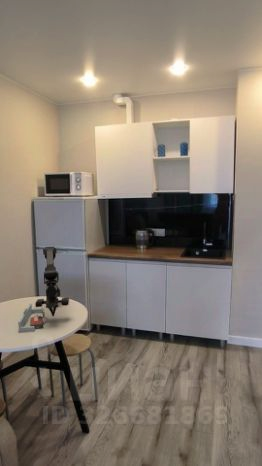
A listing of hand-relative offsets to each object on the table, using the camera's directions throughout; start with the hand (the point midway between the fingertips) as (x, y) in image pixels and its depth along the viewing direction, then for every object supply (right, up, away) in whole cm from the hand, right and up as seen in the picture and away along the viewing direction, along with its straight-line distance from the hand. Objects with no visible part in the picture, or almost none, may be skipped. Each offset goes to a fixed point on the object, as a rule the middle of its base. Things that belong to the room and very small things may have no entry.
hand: (53, 316), depth 187 cm
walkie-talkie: (-8, -4, -1) cm, 9 cm away
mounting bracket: (-12, -3, 0) cm, 12 cm away
